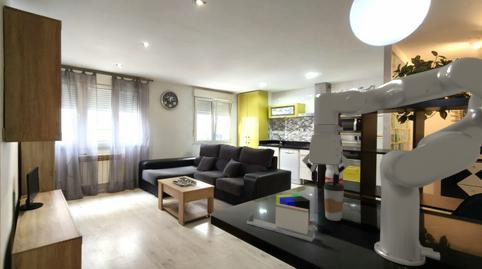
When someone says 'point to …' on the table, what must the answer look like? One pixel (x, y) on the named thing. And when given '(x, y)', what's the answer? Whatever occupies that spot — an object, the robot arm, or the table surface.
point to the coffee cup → (333, 201)
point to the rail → (271, 226)
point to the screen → (292, 218)
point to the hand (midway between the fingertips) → (324, 184)
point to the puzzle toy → (294, 202)
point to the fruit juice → (330, 173)
